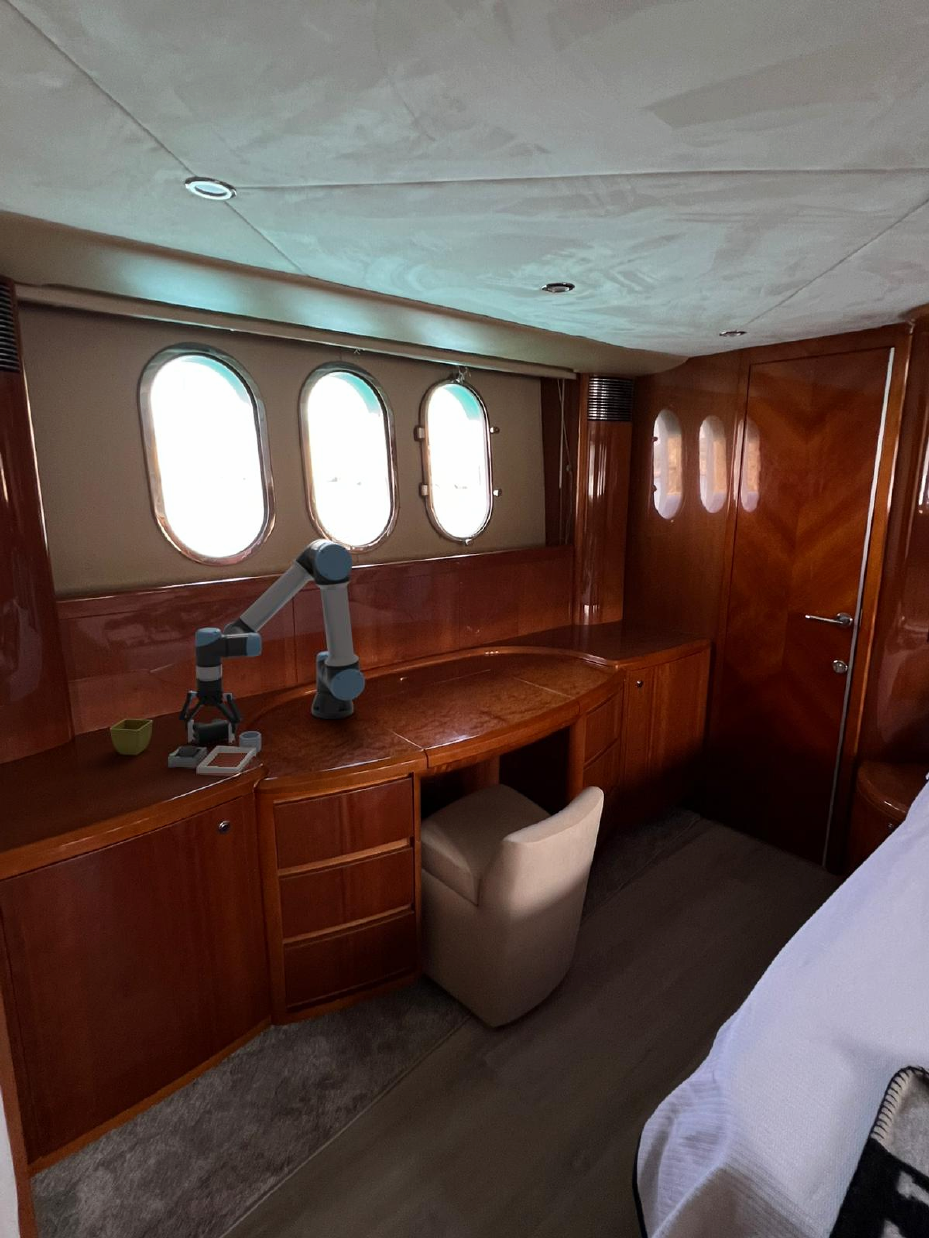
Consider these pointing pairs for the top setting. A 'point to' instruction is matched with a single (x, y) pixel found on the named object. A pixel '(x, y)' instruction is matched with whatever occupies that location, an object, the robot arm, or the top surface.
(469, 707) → the top surface
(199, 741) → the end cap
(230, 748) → the light grey rectangular frame
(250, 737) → the blue-grey short hollow cylinder
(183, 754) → the test button
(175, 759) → the box
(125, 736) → the flower pot
